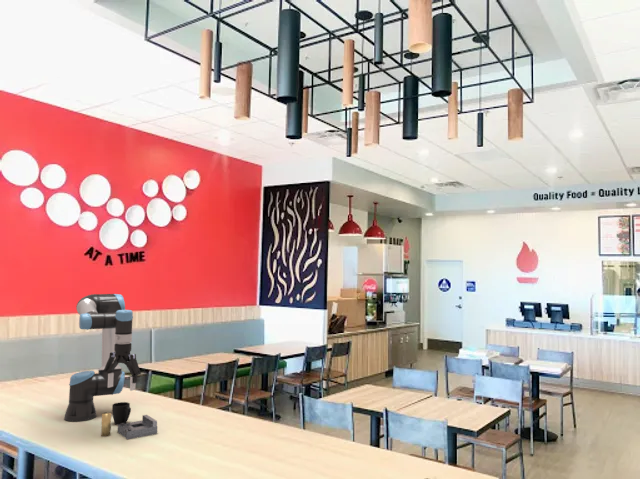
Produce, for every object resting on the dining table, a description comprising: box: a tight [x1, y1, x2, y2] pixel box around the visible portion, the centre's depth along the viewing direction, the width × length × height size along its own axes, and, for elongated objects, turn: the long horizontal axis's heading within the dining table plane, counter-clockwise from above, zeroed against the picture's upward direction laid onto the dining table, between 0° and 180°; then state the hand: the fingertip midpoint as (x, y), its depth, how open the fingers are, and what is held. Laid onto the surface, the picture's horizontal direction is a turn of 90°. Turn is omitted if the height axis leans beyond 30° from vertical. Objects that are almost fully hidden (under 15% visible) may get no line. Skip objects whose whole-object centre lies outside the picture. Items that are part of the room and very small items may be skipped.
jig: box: [117, 414, 158, 440], centre depth 246 cm, size 14×14×6 cm
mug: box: [111, 401, 132, 426], centre depth 260 cm, size 8×12×10 cm
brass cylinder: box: [100, 411, 112, 438], centre depth 242 cm, size 4×4×10 cm
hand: (121, 388), depth 243 cm, fingers open, 13 cm apart
